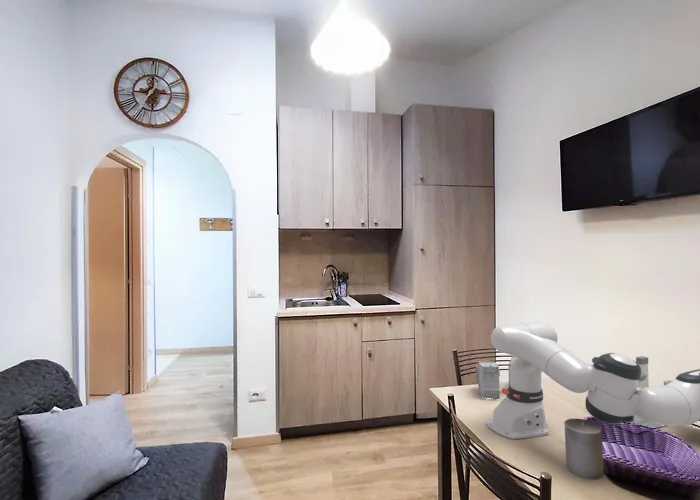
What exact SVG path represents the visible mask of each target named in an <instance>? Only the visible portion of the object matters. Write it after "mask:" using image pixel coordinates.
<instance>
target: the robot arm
mask: <svg viewBox="0 0 700 500" xmlns="http://www.w3.org/2000/svg"><path fill="white" fill-rule="evenodd" d="M490 337H491V344H492V345H493V347H494V349H495V350H496V351H497V352H499V353H502V354H507V355H509V356H512V357H518V358H517V359H516V360H515V361H514V362H512V364H511V365H510V385H509V384H508V388H506V387H502V388H501V389H500V393H502V394H504V395H506V396H505V397H504V398H503V399H502V400H501V402H499V404H498V405H496V406H495V407H494V409H493V413H492V418H490V419H488V420H486V425H487V427H488V428H490V429H491V430H492V431H493V432H495V433H497V434H498V435H501V436H503V437H505V438H508V439H512V440H517V439H526V438H533V437H542V436H549V435H550V433H549V429H548V424H547V421H546V413H545V409H544V405H543V404H544V403H543V400H544V391H543V390H544V389H543V388H542V373H544V374H545V375H546V376H548V377H549V378H550V379H551V380H553V381H554V382H555V383H557V384H558V385H560V386H561V387H563V388H565V389H566V390H569V391H570V392H572V393H576V394H582V393H586V392H587V391H588V392H587V396H586V397H585V409H586V411H587V412H588V413H589V414H590V415H591V417H593V418H594V419H596V420H597V421H599V422H602V423H605V424H607V425H608V424H609V425H612V424H621V423H623V422H631V421H632V420H633V419H634V418H633V415H636V416H639V417H640V418H642V419H644V420H646V421H648V422H651V423H655V424H660V425H666V426H670V427H671V426H673V427H676V426H677V427H678V426H679V427H680V426H682V427H683V426H684V427H685V426H690V425H693V424H695V423H698V422H699V421H700V368H698V369H692V370H690V371H685V372H681V373H679V374H678V375H677V376H676V377H675V378H674V379H673V380H670V379H669V380H664V381H663V385H654V386H653V385H652V386H649V387H646V388H642V389H641V388H637V386H638V381H639V379H640V378H641V367H640V366H639V364H638V363H637V362H636V360H634V359H632V358H630V357H628V356H627V355H625V354H621V353H615V352H608V353H604V354H601V355H600V356H594V357H593V358H592V359H591V362H592V363H588V362H585V361H584V360H582V359H580V358H579V357H578V356H577V355H575V354H574V353H573V352H571V351H570V350H569V349H567V348H565V347H564V346H562V345H560V344H559V343H558V334H557V332H556V329H555V328H554V326H552V325H551V324H548V323H544V322H537V321H536V322H523V323H522V322H521V323H512V324H511V323H510V324H509V323H508V324H504V325H500V326H497V327H495V328H494V329H493V331H492V332H491V336H490Z"/></svg>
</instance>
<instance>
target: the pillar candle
mask: <svg viewBox="0 0 700 500" xmlns="http://www.w3.org/2000/svg"><path fill="white" fill-rule="evenodd" d="M563 424H564V442H565V465H566V468H567V470H568V471H569V472H571V474H572V473H573V474H575V475H577V476H578V477H580V478H583V479H587V480H599V479H602V478H603V477H604V476H605V475H604V471H605V470H604V453H603V452H604V450H603V435H602V434H603V433H602V428H601V426H600V425H599V424H597V423H595V422H594V421H591V420H587V419H583V418H568V419H566V420H565V421H564V422H563Z"/></svg>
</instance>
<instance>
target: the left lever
mask: <svg viewBox="0 0 700 500" xmlns="http://www.w3.org/2000/svg"><path fill="white" fill-rule="evenodd" d="M646 377H647V375H646V374H645V373H643V372H642V371H641V378H640V379H639V381H638V386H637V388H639V387H640V385H641V384H642V382H643V381H644V380H645V378H646Z"/></svg>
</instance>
